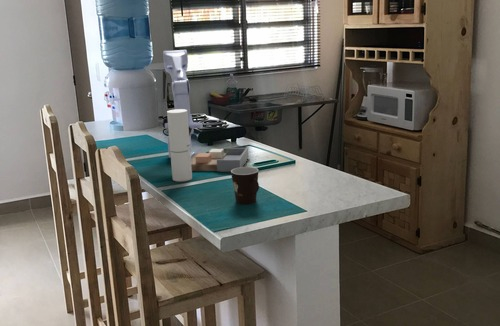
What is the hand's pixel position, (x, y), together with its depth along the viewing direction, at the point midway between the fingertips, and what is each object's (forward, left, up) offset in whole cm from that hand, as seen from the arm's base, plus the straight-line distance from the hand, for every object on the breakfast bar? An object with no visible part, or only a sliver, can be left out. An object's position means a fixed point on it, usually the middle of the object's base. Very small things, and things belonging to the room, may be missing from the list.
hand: (185, 146), depth 208 cm
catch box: (+17, +4, -8) cm, 20 cm away
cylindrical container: (+2, -14, -9) cm, 17 cm away
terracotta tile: (+7, 0, -6) cm, 9 cm away
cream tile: (+10, +7, -6) cm, 14 cm away
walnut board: (+7, +4, -8) cm, 12 cm away
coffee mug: (+30, -38, -9) cm, 50 cm away
